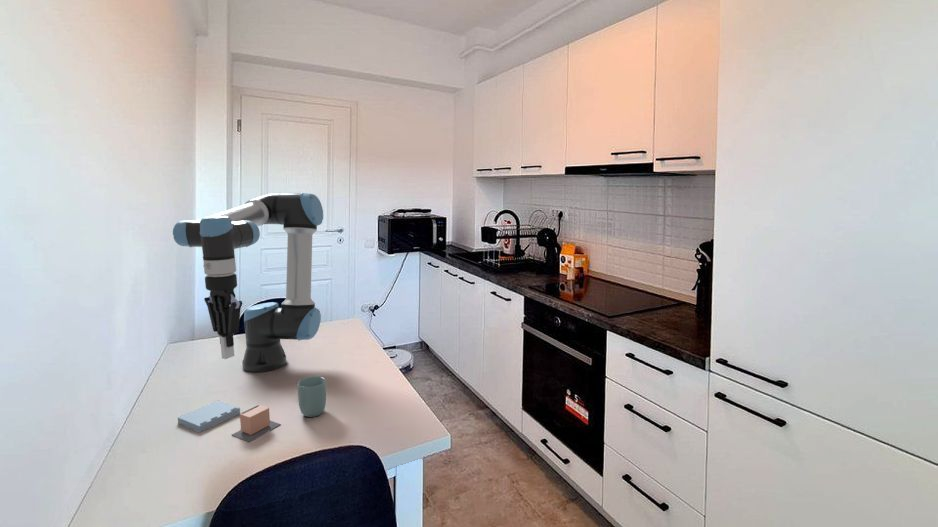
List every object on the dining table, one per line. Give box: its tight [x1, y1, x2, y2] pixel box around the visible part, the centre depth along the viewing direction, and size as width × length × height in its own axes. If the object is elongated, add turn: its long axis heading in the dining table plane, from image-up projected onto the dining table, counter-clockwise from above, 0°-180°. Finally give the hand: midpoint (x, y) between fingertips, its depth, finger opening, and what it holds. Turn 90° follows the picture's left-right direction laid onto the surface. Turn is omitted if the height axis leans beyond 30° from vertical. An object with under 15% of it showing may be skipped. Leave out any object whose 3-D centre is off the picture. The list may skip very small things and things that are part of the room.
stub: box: [239, 404, 271, 435], centre depth 122 cm, size 4×6×5 cm, turn 153°
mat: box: [231, 420, 281, 443], centre depth 123 cm, size 7×10×1 cm
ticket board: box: [177, 400, 241, 433], centre depth 129 cm, size 10×12×2 cm
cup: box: [296, 375, 327, 418], centre depth 131 cm, size 8×8×10 cm
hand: (228, 357), depth 125 cm, fingers closed
